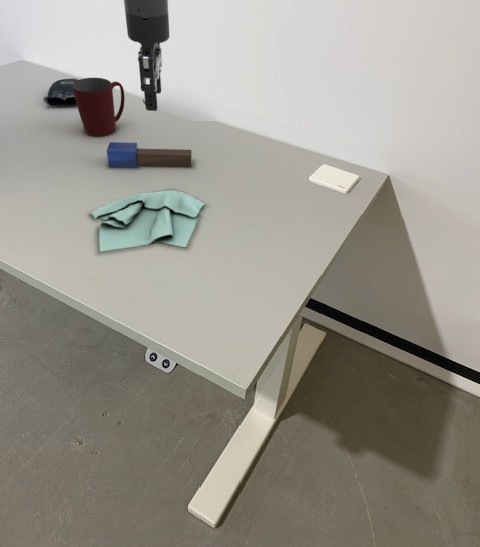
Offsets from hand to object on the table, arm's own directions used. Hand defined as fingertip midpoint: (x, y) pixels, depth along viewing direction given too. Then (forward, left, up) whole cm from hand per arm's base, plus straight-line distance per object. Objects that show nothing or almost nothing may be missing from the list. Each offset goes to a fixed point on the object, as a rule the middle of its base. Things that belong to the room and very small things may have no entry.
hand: (154, 101), depth 85 cm
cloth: (-1, -21, -14) cm, 26 cm away
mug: (-15, +17, -14) cm, 27 cm away
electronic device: (-29, +36, -14) cm, 48 cm away
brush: (-2, 0, -14) cm, 14 cm away
